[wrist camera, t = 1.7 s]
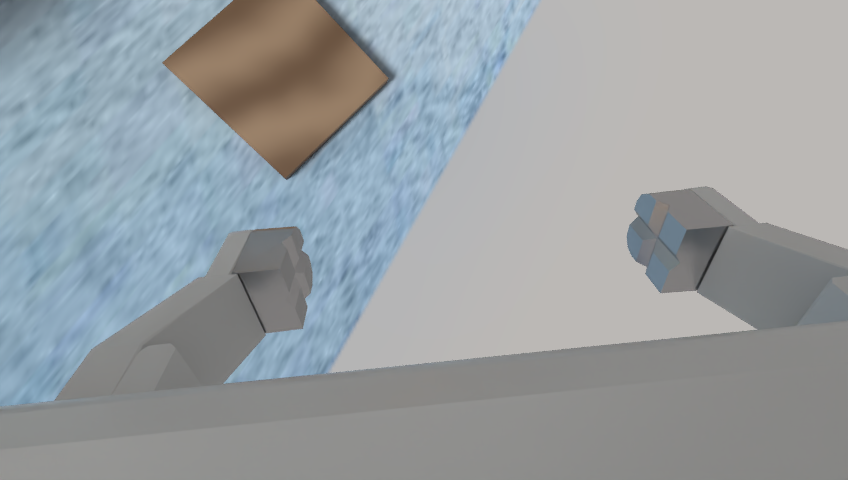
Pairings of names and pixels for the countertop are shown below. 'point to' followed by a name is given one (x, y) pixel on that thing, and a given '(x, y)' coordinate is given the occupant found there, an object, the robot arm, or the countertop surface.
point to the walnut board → (278, 76)
